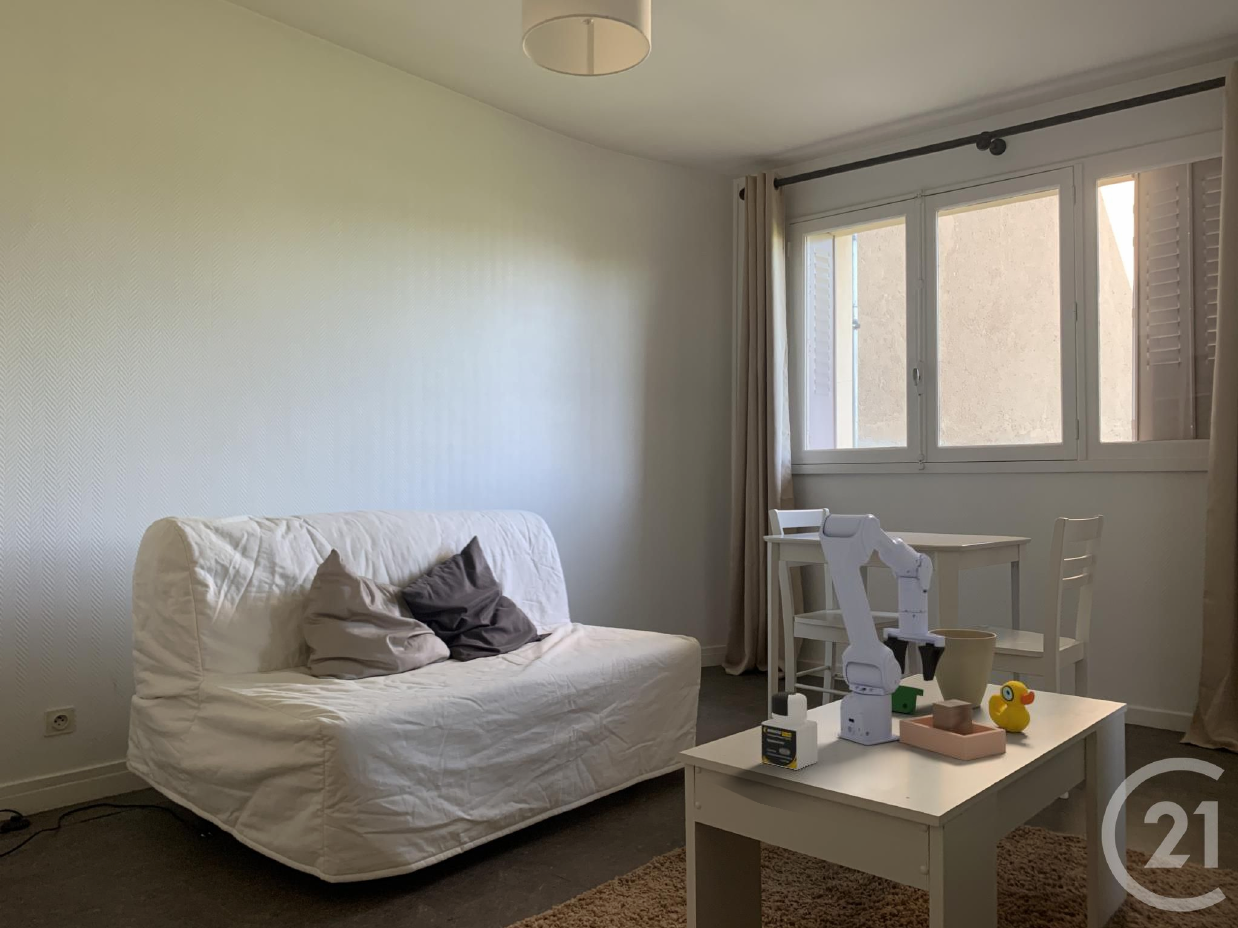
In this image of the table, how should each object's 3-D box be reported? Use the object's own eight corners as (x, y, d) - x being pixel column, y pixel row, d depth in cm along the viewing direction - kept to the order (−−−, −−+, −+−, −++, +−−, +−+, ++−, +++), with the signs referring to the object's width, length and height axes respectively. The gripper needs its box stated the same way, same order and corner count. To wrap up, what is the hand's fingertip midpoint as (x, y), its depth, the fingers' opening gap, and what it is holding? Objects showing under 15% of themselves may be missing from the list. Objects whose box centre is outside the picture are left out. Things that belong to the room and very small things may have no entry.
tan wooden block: (950, 745, 167) (949, 706, 167) (933, 740, 170) (932, 702, 171) (972, 741, 170) (972, 703, 170) (955, 736, 173) (954, 699, 174)
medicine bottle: (760, 763, 159) (760, 693, 160) (783, 754, 164) (782, 687, 165) (796, 771, 154) (795, 699, 155) (818, 762, 160) (817, 693, 160)
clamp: (913, 730, 200) (932, 694, 199) (900, 728, 196) (919, 691, 195) (870, 700, 209) (888, 666, 208) (857, 698, 205) (875, 662, 204)
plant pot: (946, 694, 216) (945, 626, 217) (1009, 705, 205) (1008, 633, 206) (914, 704, 206) (913, 632, 207) (978, 715, 195) (977, 640, 196)
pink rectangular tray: (965, 760, 161) (964, 737, 161) (899, 741, 174) (899, 720, 174) (1005, 752, 166) (1005, 729, 167) (939, 733, 179) (939, 713, 179)
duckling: (1045, 737, 177) (1044, 685, 178) (1023, 739, 175) (1022, 686, 176) (1002, 723, 188) (1002, 674, 188) (981, 725, 186) (980, 676, 187)
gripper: (955, 613, 185) (956, 681, 184) (899, 606, 197) (900, 669, 197) (930, 615, 181) (931, 684, 181) (876, 608, 194) (876, 672, 193)
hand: (913, 677), depth 188 cm, fingers open, 7 cm apart
